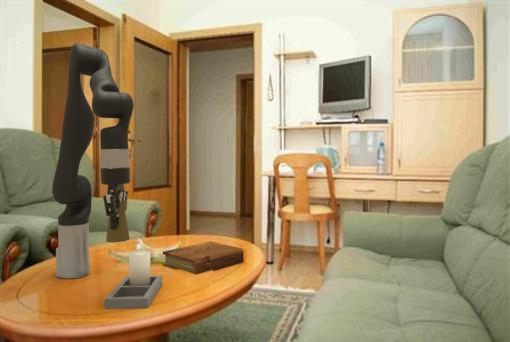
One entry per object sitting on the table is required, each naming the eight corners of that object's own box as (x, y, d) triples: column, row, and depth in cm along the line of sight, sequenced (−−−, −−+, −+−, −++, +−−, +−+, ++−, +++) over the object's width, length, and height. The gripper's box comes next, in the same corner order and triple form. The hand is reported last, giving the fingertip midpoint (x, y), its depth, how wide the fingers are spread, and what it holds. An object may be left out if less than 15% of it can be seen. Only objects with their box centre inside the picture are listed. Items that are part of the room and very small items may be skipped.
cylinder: (126, 293, 112) (126, 255, 112) (132, 286, 118) (132, 250, 118) (148, 293, 113) (147, 255, 112) (152, 286, 119) (152, 249, 118)
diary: (195, 278, 130) (195, 261, 130) (162, 267, 143) (162, 251, 143) (243, 263, 147) (243, 248, 147) (210, 254, 160) (210, 240, 160)
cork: (115, 243, 103) (114, 201, 102) (101, 240, 106) (99, 200, 106) (134, 238, 108) (133, 198, 107) (120, 236, 111) (118, 198, 111)
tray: (104, 310, 101) (104, 299, 101) (126, 286, 120) (125, 276, 120) (147, 310, 102) (147, 298, 102) (162, 285, 121) (162, 275, 121)
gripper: (109, 166, 113) (111, 225, 114) (91, 167, 99) (93, 235, 100) (136, 165, 113) (138, 225, 114) (121, 166, 99) (123, 234, 100)
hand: (117, 229), depth 107 cm, fingers closed on cork, 3 cm apart
